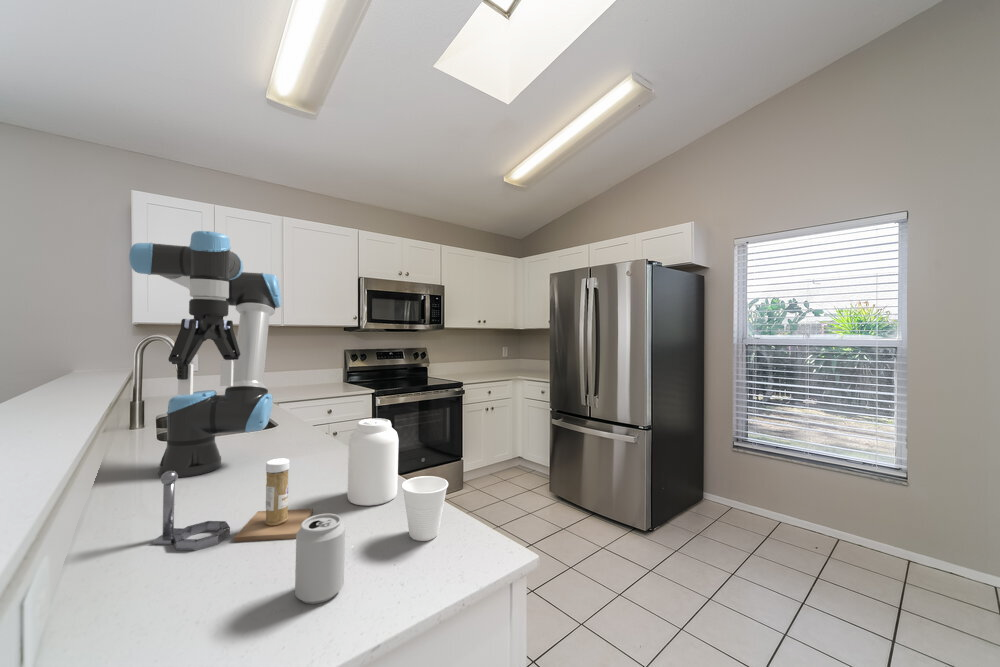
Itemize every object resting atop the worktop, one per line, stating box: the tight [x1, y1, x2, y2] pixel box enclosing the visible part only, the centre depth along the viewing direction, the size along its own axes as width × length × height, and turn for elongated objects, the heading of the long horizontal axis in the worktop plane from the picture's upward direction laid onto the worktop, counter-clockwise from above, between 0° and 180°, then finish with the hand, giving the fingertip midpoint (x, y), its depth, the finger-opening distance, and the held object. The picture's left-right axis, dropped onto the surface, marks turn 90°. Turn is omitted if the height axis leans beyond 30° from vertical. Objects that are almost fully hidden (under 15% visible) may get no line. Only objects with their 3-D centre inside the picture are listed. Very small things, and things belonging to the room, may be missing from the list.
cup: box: [401, 475, 449, 542], centre depth 88 cm, size 10×10×11 cm
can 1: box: [294, 513, 346, 605], centre depth 68 cm, size 8×8×12 cm
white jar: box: [347, 417, 400, 507], centre depth 107 cm, size 12×12×20 cm
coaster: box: [233, 508, 314, 543], centre depth 90 cm, size 12×12×1 cm
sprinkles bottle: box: [265, 457, 290, 526], centre depth 90 cm, size 5×5×14 cm
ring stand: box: [152, 471, 231, 552], centre depth 84 cm, size 9×13×14 cm
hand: (207, 390), depth 96 cm, fingers open, 13 cm apart
